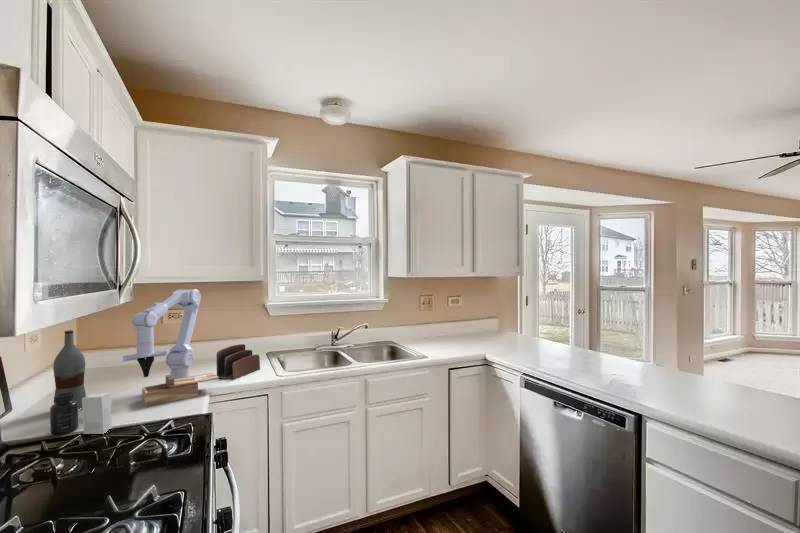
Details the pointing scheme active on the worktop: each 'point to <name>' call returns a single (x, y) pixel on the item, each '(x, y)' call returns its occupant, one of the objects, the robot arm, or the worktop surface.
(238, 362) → the letter holder
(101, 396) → the skincare box
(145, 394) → the box
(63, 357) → the vodka
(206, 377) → the mailer lid
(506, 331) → the worktop surface
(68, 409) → the supplement bottle
